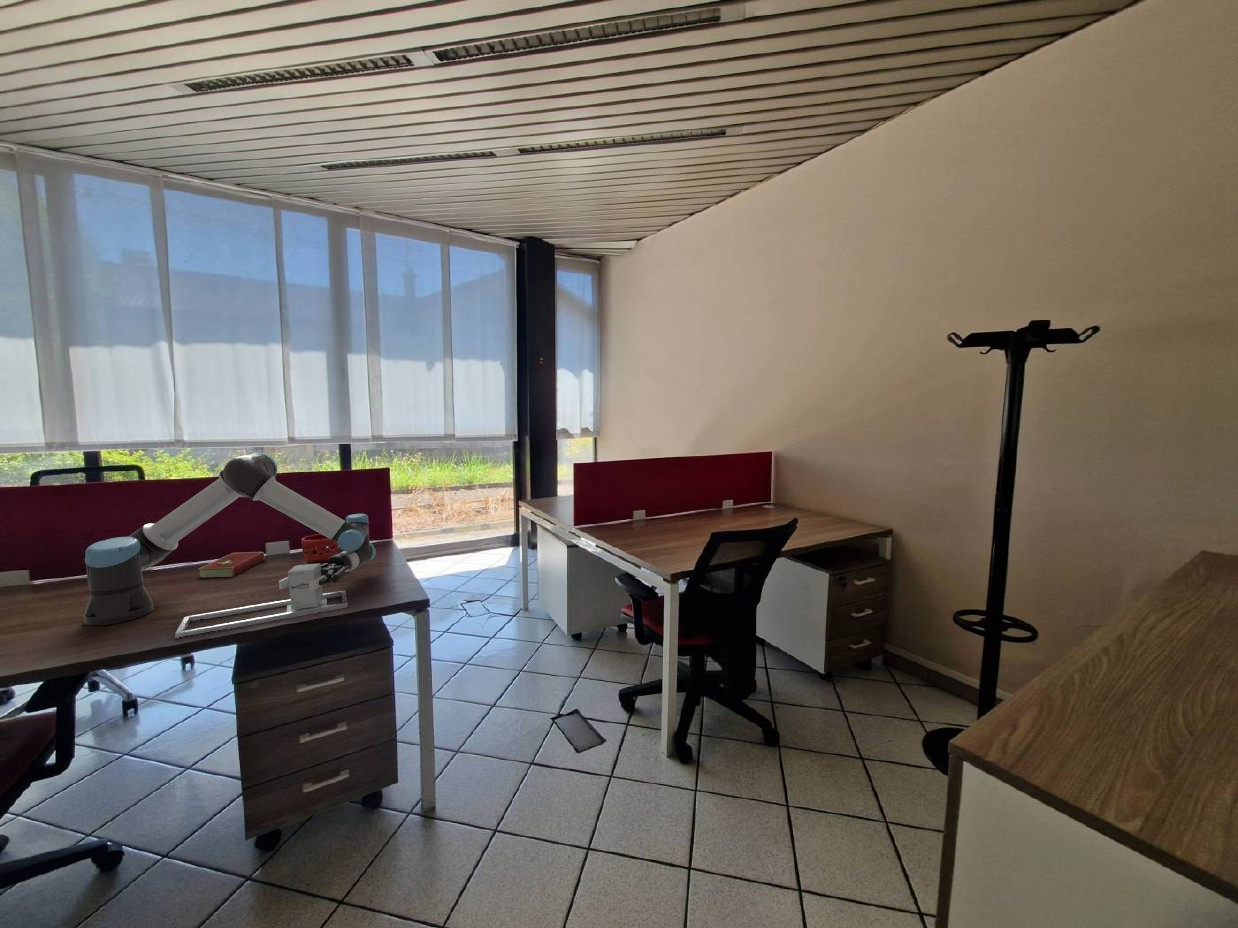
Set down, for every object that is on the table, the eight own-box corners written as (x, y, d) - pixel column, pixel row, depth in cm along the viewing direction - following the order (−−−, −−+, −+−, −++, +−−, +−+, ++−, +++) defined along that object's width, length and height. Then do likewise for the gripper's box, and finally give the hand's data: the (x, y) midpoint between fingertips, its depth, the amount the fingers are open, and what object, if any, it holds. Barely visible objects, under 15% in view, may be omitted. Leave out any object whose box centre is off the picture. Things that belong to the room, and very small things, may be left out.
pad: (286, 616, 152) (286, 615, 152) (287, 605, 160) (287, 604, 160) (327, 609, 158) (327, 608, 158) (326, 598, 166) (326, 597, 166)
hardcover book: (264, 560, 208) (264, 551, 207) (233, 577, 187) (232, 567, 186) (233, 561, 206) (232, 552, 205) (198, 578, 185) (197, 568, 185)
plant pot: (346, 563, 204) (344, 535, 203) (313, 571, 193) (311, 542, 192) (329, 557, 211) (328, 530, 210) (296, 565, 200) (294, 537, 199)
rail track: (175, 638, 137) (174, 633, 137) (185, 621, 148) (184, 616, 148) (347, 607, 160) (347, 602, 159) (345, 594, 171) (345, 590, 170)
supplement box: (290, 610, 155) (286, 571, 153) (299, 601, 162) (295, 564, 160) (316, 607, 156) (312, 569, 155) (324, 599, 164) (320, 562, 162)
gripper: (371, 574, 175) (328, 599, 153) (314, 572, 177) (263, 595, 155) (370, 554, 174) (327, 575, 152) (312, 552, 177) (261, 572, 154)
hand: (295, 585), depth 154 cm, fingers open, 9 cm apart
